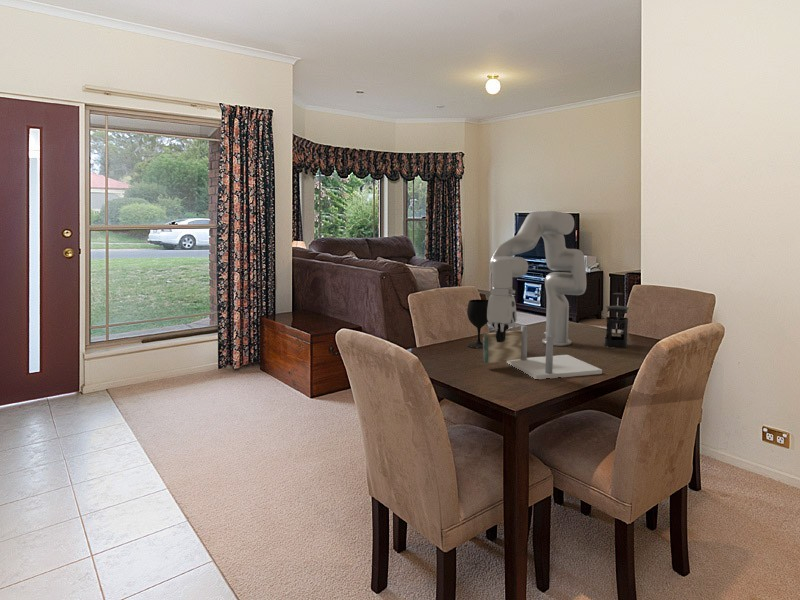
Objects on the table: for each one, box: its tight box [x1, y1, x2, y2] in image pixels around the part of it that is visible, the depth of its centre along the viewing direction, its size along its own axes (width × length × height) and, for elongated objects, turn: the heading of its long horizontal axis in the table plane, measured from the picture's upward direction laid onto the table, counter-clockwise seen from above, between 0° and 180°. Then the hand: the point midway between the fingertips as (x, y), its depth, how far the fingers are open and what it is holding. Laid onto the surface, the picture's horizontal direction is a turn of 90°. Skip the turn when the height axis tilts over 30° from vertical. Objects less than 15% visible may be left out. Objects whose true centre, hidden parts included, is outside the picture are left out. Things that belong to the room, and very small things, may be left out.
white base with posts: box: [506, 325, 603, 380], centre depth 203 cm, size 23×26×14 cm
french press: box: [603, 292, 630, 349], centre depth 238 cm, size 12×9×23 cm
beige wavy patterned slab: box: [482, 329, 522, 364], centre depth 207 cm, size 16×2×11 cm, turn 112°
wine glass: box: [466, 299, 489, 348], centre depth 240 cm, size 10×10×20 cm
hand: (500, 341), depth 203 cm, fingers closed
